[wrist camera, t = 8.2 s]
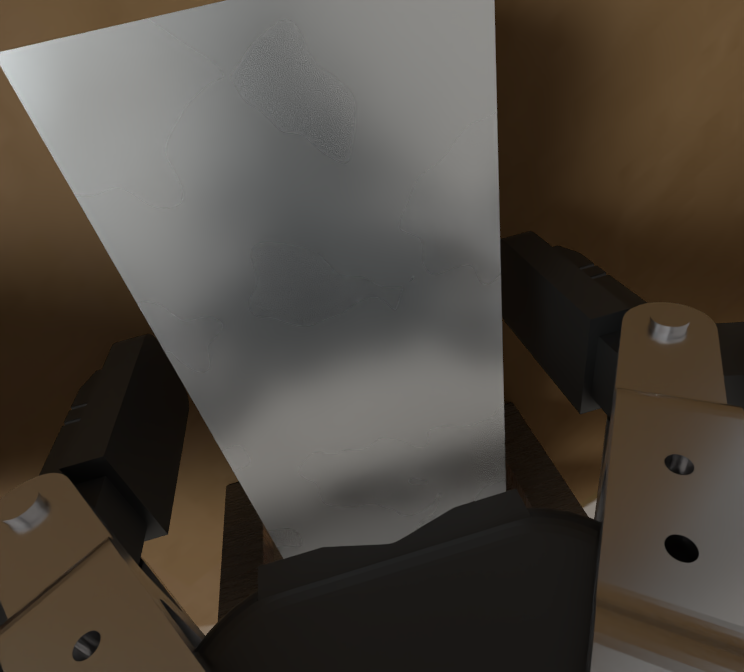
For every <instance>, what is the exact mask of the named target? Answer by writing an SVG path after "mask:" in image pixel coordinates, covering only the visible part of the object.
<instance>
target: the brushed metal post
mask: <svg viewBox="0 0 744 672" xmlns="http://www.w3.org/2000/svg"><path fill="white" fill-rule="evenodd" d="M0 66H1V68H2V69H3V71H4V73H5V74H6V76H7V78H8V80H9V81H10V83H11V85H12V87H13V88H14V90H15V92H16V94H17V95H18V97H19V99H20V101H21V102H22V104H23V106H24V108H25V109H26V111H27V113H28V115H29V116H30V118H31V120H32V122H33V123H34V125H35V127H36V128H37V130H38V132H39V134H40V135H41V137H42V139H43V141H44V142H45V144H46V146H47V148H48V149H49V151H50V153H51V155H52V156H53V158H54V160H55V162H56V163H57V165H58V167H59V169H60V170H61V172H62V174H63V176H64V177H65V179H66V181H67V182H68V184H69V186H70V188H71V189H72V191H73V193H74V195H75V196H76V198H77V200H78V202H79V203H80V205H81V207H82V209H83V210H84V212H85V214H86V216H87V217H88V219H89V221H90V223H91V224H92V226H93V228H94V230H95V231H96V233H97V235H98V236H99V238H100V240H101V242H102V243H103V245H104V247H105V249H106V250H107V252H108V254H109V256H110V257H111V259H112V261H113V263H114V264H115V266H116V268H117V270H118V271H119V273H120V275H121V277H122V278H123V280H124V282H125V284H126V285H127V287H128V289H129V290H130V292H131V294H132V296H133V297H134V299H135V301H136V303H137V304H138V306H139V308H140V310H141V311H142V313H143V315H144V317H145V318H146V320H147V322H148V324H149V325H150V327H151V329H152V331H153V332H154V334H155V336H156V338H157V339H158V341H159V343H160V344H161V346H162V348H163V350H164V351H165V353H166V355H167V357H168V358H169V360H170V362H171V364H172V365H173V367H174V369H175V371H176V372H177V374H178V376H179V378H180V379H181V381H182V383H183V385H184V386H185V388H186V390H187V392H188V393H189V395H190V397H191V398H192V400H193V402H194V404H195V405H196V407H197V409H198V411H199V412H200V414H201V416H202V418H203V419H204V421H205V423H206V425H207V426H208V428H209V430H210V432H211V433H212V435H213V437H214V439H215V440H216V442H217V444H218V445H219V447H220V449H221V451H222V452H223V454H224V456H225V458H226V459H227V461H228V463H229V465H230V466H231V468H232V470H233V472H234V473H235V475H236V477H237V479H238V480H239V482H240V484H241V486H242V487H243V489H244V491H245V493H246V494H247V496H248V498H249V499H250V501H251V503H252V505H253V506H254V508H255V510H256V512H257V513H258V515H259V517H260V519H261V520H262V522H263V524H264V526H265V527H266V529H267V531H268V533H269V534H270V536H271V538H272V540H273V541H274V543H275V545H276V547H277V548H278V550H279V552H280V553H281V555H282V557H283V559H285V558H288V557H291V556H295V555H298V554H301V553H305V552H308V551H311V550H315V549H318V548H321V547H335V546H356V545H378V544H391V543H394V542H396V541H398V540H400V539H402V538H404V537H405V536H407V535H409V534H410V533H412V532H414V531H415V530H417V529H419V528H420V527H422V526H424V525H425V524H427V523H429V522H430V521H432V520H434V519H435V518H437V517H439V516H440V515H442V514H444V513H445V512H447V511H449V510H450V509H452V508H454V507H457V506H460V505H463V504H467V503H470V502H473V501H477V500H480V499H483V498H486V497H490V496H493V495H496V494H500V493H503V492H506V470H505V428H504V385H503V343H502V301H501V259H500V216H499V174H498V132H497V90H496V48H495V5H494V0H226V1H222V2H218V3H213V4H209V5H204V6H200V7H196V8H191V9H187V10H182V11H178V12H174V13H169V14H165V15H161V16H156V17H152V18H147V19H143V20H139V21H134V22H130V23H125V24H121V25H117V26H112V27H108V28H104V29H99V30H95V31H90V32H86V33H82V34H77V35H73V36H68V37H64V38H60V39H55V40H51V41H46V42H42V43H38V44H33V45H29V46H25V47H20V48H16V49H11V50H7V51H3V52H0Z"/></svg>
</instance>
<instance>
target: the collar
mask: <svg viewBox="0 0 744 672" xmlns="http://www.w3.org/2000/svg"><path fill="white" fill-rule="evenodd" d="M504 428H505V470H506V480H507V482H508V484H509V486H510V488H511V490H513V489H516V490H517V491H518V493H519V495H520V497H521V499H522V501H523V502H524V504H525V506H526V508H535V507H536V508H551V509H557V510H563V511H569V512H572V513H576V514H579V515H583V516H586V517H588V516H587V514H586V513H585V511H584V509H583V508H582V506H581V505H580V503H579V502H578V500H577V499H576V497H575V496H574V494H573V493H572V491H571V490H570V488H569V487H568V485H567V484H566V482H565V481H564V479H563V478H562V476H561V475H560V473H559V472H558V470H557V469H556V467H555V466H554V464H553V463H552V461H551V460H550V458H549V457H548V455H547V454H546V452H545V451H544V449H543V448H542V446H541V445H540V443H539V441H538V440H537V438H536V437H535V435H534V434H533V432H532V431H531V429H530V428H529V426H528V425H527V423H526V422H525V420H524V419H523V417H522V416H521V414H520V413H519V411H518V410H517V408H516V407H515V405H514V404H513V403H509V404H506V405H504ZM272 562H274V552H273V540H272V538H271V536H270V534H269V533H268V531H267V529H266V527H265V526H264V524H263V522H262V520H261V519H260V517H259V515H258V513H257V512H256V510H255V508H254V506H253V505H252V503H251V501H250V499H249V498H248V496H247V494H246V493H245V491H244V489H243V487H242V486H241V484H240V482H239V483H235V484H232V485H228V486H226V499H225V515H224V531H223V547H222V562H221V578H220V594H219V610H218V621H219V620H220V619H221V618H222V617H223V616H224V615H225V614H227V613H228V612H229V611H230V610H231V609H232V608H233V607H234V606H235V605H237V604H238V603H239V602H241V601H242V600H243V599H245V598H246V597H248V596H249V595H250V594H252V593H254V592H255V591H257V590H258V566H262V565H265V564H268V563H272Z"/></svg>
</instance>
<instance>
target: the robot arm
mask: <svg viewBox="0 0 744 672" xmlns="http://www.w3.org/2000/svg"><path fill="white" fill-rule="evenodd" d="M500 259H501V301H502V317H503V319H504V320H505V322H506V323H507V325H508V326H509V327H510V328H511V330H512V331H513V332H514V333H515V334H516V336H517V337H518V338H519V339H520V341H521V342H522V343H523V344H524V346H525V347H526V348H527V349H528V351H529V352H530V353H531V354H532V355H533V357H534V358H535V359H536V360H537V362H538V363H539V364H540V365H541V367H542V368H543V369H544V370H545V371H546V373H547V374H548V375H549V376H550V378H551V379H552V380H553V381H554V383H555V384H556V385H557V386H558V388H559V389H560V390H561V391H562V392H563V394H564V395H565V396H566V397H567V399H568V400H569V401H570V402H571V404H572V405H573V406H574V407H575V409H576V410H577V411H578V412H579V413H580V414H583V413H586V412H589V411H593V410H596V409H600V408H602V410H603V411H604V412H605V413H606V414H607V420H606V426H605V435H604V443H603V452H602V461H601V469H600V478H599V486H598V495H597V503H596V511H595V517H594V519H591V518H589V517H586V516H583V515H579V514H576V513H572V512H569V511H563V510H557V509H551V508H536V507H535V508H526V506H525V504H524V502H523V501H522V499H521V497H520V495H519V493H518V491H517V490H516V489H513V490H510V491H506V492H503V493H500V494H496V495H493V496H490V497H486V498H483V499H480V500H477V501H473V502H470V503H467V504H463V505H460V506H457V507H454V508H452V509H450V510H449V511H447V512H445V513H444V514H442V515H440V516H439V517H437V518H435V519H434V520H432V521H430V522H429V523H427V524H425V525H424V526H422V527H420V528H419V529H417V530H415V531H414V532H412V533H410V534H409V535H407V536H405V537H404V538H402V539H400V540H398V541H396V542H394V543H391V544H378V545H356V546H335V547H321V548H318V549H315V550H311V551H308V552H305V553H301V554H298V555H295V556H291V557H288V558H285V559H281V560H278V561H275V562H272V563H268V564H265V565H262V566H258V590H257V591H255V592H254V593H252V594H250V595H249V596H248V597H246V598H245V599H243V600H242V601H241V602H239V603H238V604H237V605H235V606H234V607H233V608H232V609H231V610H230V611H229V612H228V613H227V614H225V615H224V616H223V617H222V618H221V619H220V620H219V621H218V622H217V623H216V625H215V626H214V627H213V628H212V629H211V630H210V631H209V632H208V633H207V635H206V636H205V635H204V634H203V633H202V632H201V631H200V629H199V628H198V627H197V626H196V624H195V623H194V622H193V621H192V619H191V618H190V617H189V616H188V614H187V613H186V612H185V610H184V609H183V608H182V607H181V605H180V604H179V603H178V601H177V600H176V599H175V598H174V596H173V595H172V594H171V593H170V591H169V590H168V589H167V587H166V586H165V585H164V584H163V582H162V581H161V580H160V578H159V577H158V576H157V575H156V573H155V572H154V571H153V569H152V568H151V567H150V566H149V564H148V563H147V562H146V561H145V560H144V559H143V558H142V557H141V553H142V548H143V544H144V541H147V540H151V539H154V538H157V537H161V536H164V535H168V531H169V525H170V519H171V513H172V507H173V501H174V495H175V489H176V483H177V477H178V471H179V465H180V460H181V454H182V448H183V442H184V436H185V430H186V424H187V418H188V412H189V402H188V396H187V393H186V390H185V387H184V385H183V383H182V381H181V380H180V378H179V376H178V375H177V373H176V371H175V369H174V368H173V366H172V364H171V362H170V361H169V359H168V357H167V356H166V354H165V352H164V350H163V349H162V347H161V345H160V344H159V342H158V340H157V339H156V338H155V337H154V336H153V335H151V334H146V335H142V336H138V337H135V338H131V339H127V340H124V341H120V342H116V343H114V344H113V345H112V347H111V349H110V352H109V354H108V356H107V359H106V361H105V363H104V365H103V368H102V370H98V371H96V372H95V373H94V374H93V375H92V376H91V377H90V378H89V379H88V381H87V382H86V383H85V384H84V385H83V386H82V387H81V388H80V389H79V391H78V393H77V396H76V398H75V400H74V402H73V404H72V406H71V408H72V410H70V411H69V413H68V415H67V417H66V419H65V421H64V423H65V425H64V426H62V428H61V430H60V432H59V434H58V436H57V438H56V440H55V442H54V445H53V447H52V449H51V451H50V453H49V455H48V457H47V459H46V462H45V464H44V466H43V468H42V470H41V472H40V474H39V476H37V477H34V478H32V479H29V480H27V481H25V482H24V483H22V484H20V485H18V486H17V487H15V488H14V489H12V490H11V491H10V492H8V493H7V494H6V495H4V496H3V497H2V498H1V499H0V672H744V322H735V323H718V324H715V323H714V321H713V320H712V319H711V318H710V317H709V316H707V315H706V314H705V313H703V312H701V311H699V310H697V309H695V308H692V307H689V306H686V305H682V304H677V303H670V302H652V303H647V302H645V301H644V300H643V299H641V298H640V297H639V296H637V295H636V294H634V293H633V292H632V291H630V290H629V289H628V288H626V287H625V286H624V285H622V284H621V283H620V282H618V281H617V280H616V279H614V278H613V277H611V276H610V275H606V272H605V271H603V270H602V269H601V268H599V267H598V266H594V263H592V262H591V261H590V260H588V259H587V258H586V257H584V256H583V255H582V254H580V253H579V252H576V251H573V250H570V249H567V248H564V247H561V246H554V247H552V246H550V245H549V244H548V243H547V242H545V241H544V240H543V239H542V238H540V237H539V236H538V235H536V234H535V233H534V232H532V231H529V232H525V233H521V234H518V235H514V236H510V237H507V238H503V239H500Z"/></svg>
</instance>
